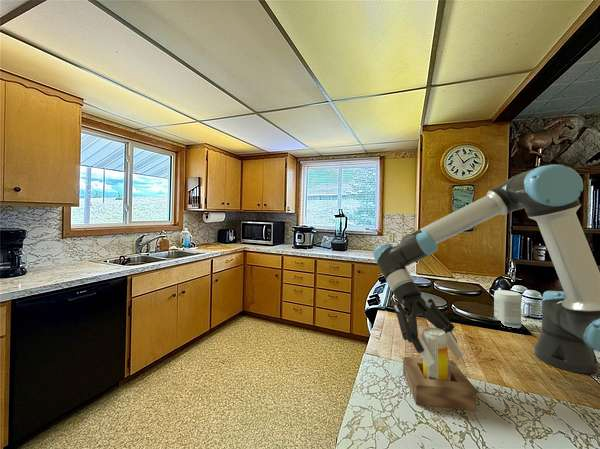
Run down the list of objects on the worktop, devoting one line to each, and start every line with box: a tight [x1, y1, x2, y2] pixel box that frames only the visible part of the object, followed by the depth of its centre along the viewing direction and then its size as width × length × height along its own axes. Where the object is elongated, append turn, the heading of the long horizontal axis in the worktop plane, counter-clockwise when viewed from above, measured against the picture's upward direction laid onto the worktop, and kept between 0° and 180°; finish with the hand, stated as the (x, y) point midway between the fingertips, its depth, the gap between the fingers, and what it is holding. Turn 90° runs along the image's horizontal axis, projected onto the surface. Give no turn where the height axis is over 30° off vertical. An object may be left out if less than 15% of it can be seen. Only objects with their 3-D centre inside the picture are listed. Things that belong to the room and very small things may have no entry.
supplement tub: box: [493, 289, 522, 329], centre depth 120 cm, size 10×10×15 cm
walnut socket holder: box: [402, 356, 478, 412], centre depth 73 cm, size 14×14×5 cm
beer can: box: [421, 327, 449, 381], centre depth 73 cm, size 6×6×15 cm
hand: (446, 361), depth 70 cm, fingers open, 10 cm apart
